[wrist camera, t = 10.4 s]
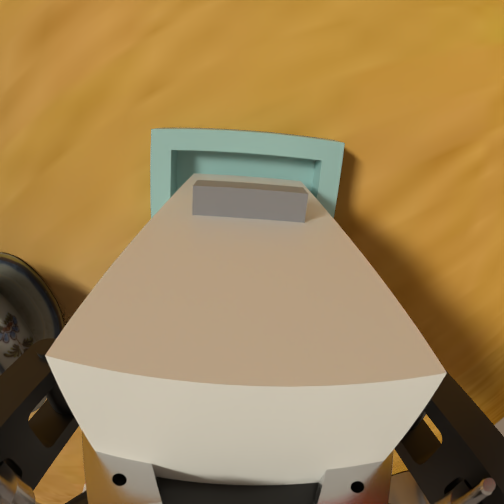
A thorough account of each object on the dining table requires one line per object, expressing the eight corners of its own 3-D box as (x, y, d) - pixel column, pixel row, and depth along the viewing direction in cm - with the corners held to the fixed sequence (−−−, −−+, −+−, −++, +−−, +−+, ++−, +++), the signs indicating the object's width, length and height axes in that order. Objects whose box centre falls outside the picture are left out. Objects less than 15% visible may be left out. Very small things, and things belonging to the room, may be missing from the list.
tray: (333, 139, 15) (344, 142, 13) (302, 326, 20) (306, 346, 18) (162, 127, 15) (151, 129, 13) (166, 318, 20) (160, 337, 18)
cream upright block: (302, 164, 14) (472, 323, 3) (280, 321, 17) (311, 531, 6) (194, 156, 14) (25, 300, 3) (193, 316, 17) (152, 525, 6)
